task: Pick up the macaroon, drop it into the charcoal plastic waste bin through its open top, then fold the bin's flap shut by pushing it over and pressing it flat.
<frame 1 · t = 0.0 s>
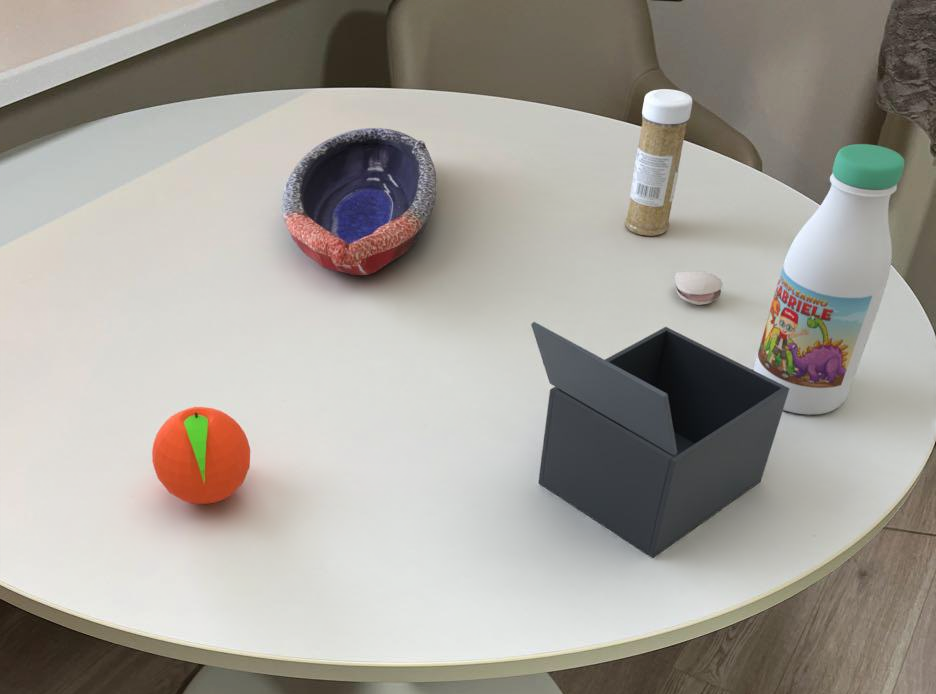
bin: (649, 482, 79), on the table
macaroon: (691, 298, 99), on the table
flap: (603, 388, 67), point 12 cm above the table, hinge at 115.0°
milk bottle: (796, 392, 88), on the table
clementine: (208, 499, 77), on the table
dish: (360, 224, 110), on the table
sprinkles bottle: (645, 229, 110), on the table
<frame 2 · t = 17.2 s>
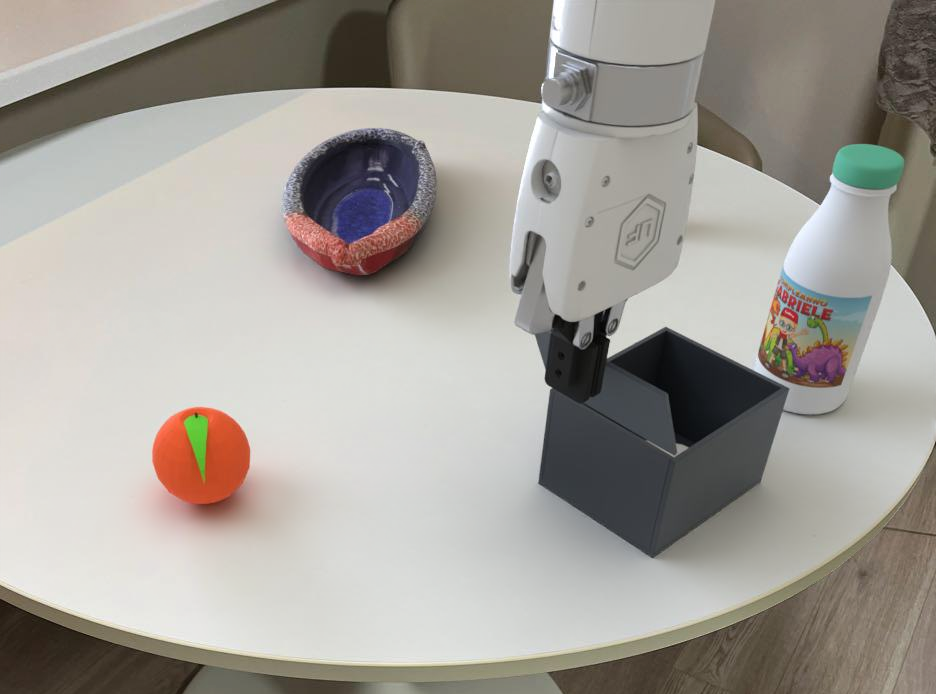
hand: (571, 389, 65), 13 cm above the table, tool pointing down, fingers closed
macaroon: (659, 474, 79), resting on bin
flap: (603, 388, 67), point 12 cm above the table, hinge at 114.7°, touching gripper
everything else where it was.
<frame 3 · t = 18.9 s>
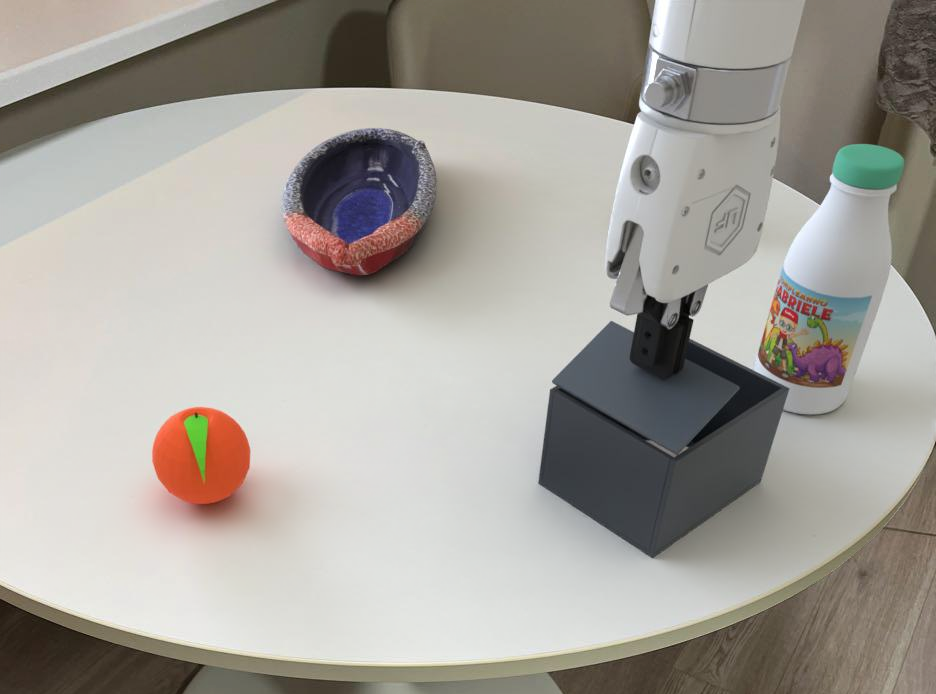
hand: (655, 366, 70), 11 cm above the table, tool pointing down, fingers closed
flap: (642, 384, 70), point 10 cm above the table, hinge at 23.8°, touching gripper
everything else where it was.
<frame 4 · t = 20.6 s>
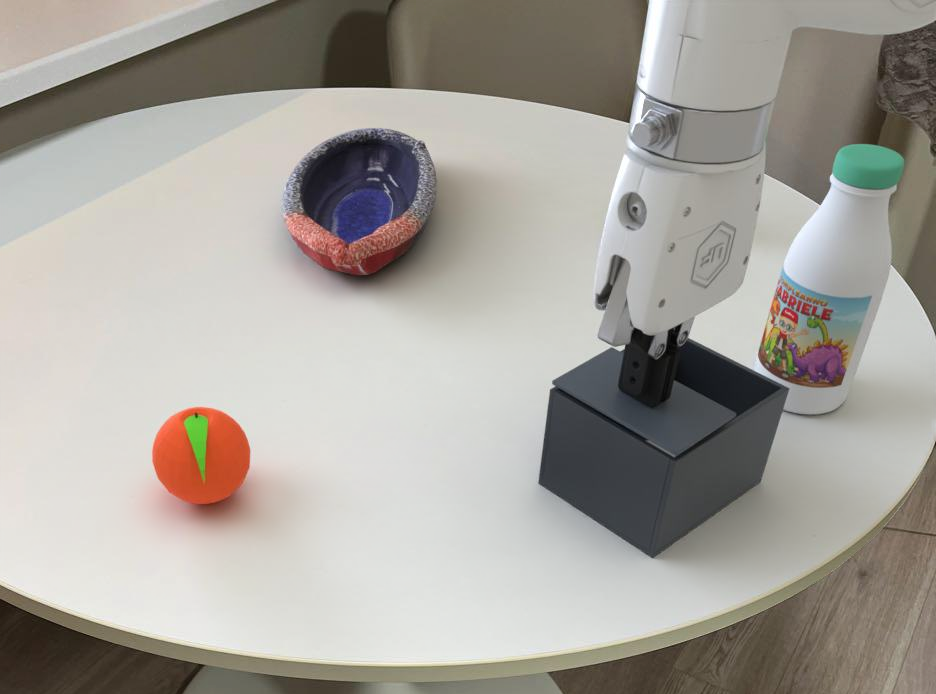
hand: (643, 394, 71), 9 cm above the table, tool pointing down, fingers closed
flap: (642, 398, 71), point 9 cm above the table, hinge at 1.4°, touching gripper
everything else where it was.
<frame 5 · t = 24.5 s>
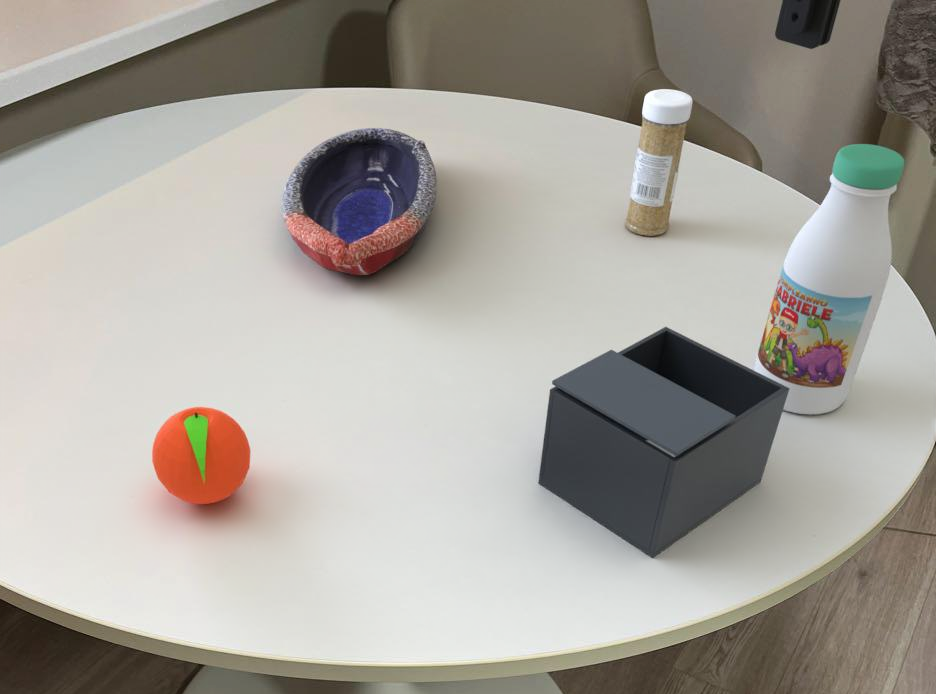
hand: (801, 41, 71), 27 cm above the table, tool pointing down, fingers closed
flap: (641, 399, 71), point 9 cm above the table, hinge at -0.5°
everything else where it was.
at the end: macaroon inside the target area in the bin (1.1 cm from its centre), point 0.2 cm above the bin's base; flap at +0° (first picture: +115°) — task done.
